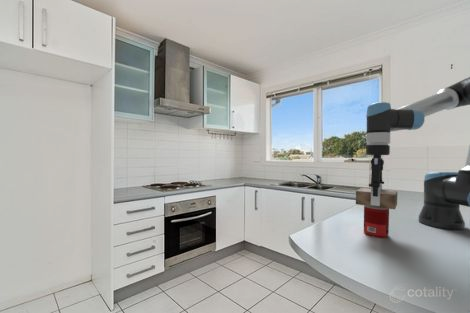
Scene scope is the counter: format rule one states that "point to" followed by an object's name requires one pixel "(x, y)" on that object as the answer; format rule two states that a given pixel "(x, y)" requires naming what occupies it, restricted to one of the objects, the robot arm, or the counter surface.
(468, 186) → the robot arm
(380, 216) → the canned food
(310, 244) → the counter surface
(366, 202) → the brown wooden block
